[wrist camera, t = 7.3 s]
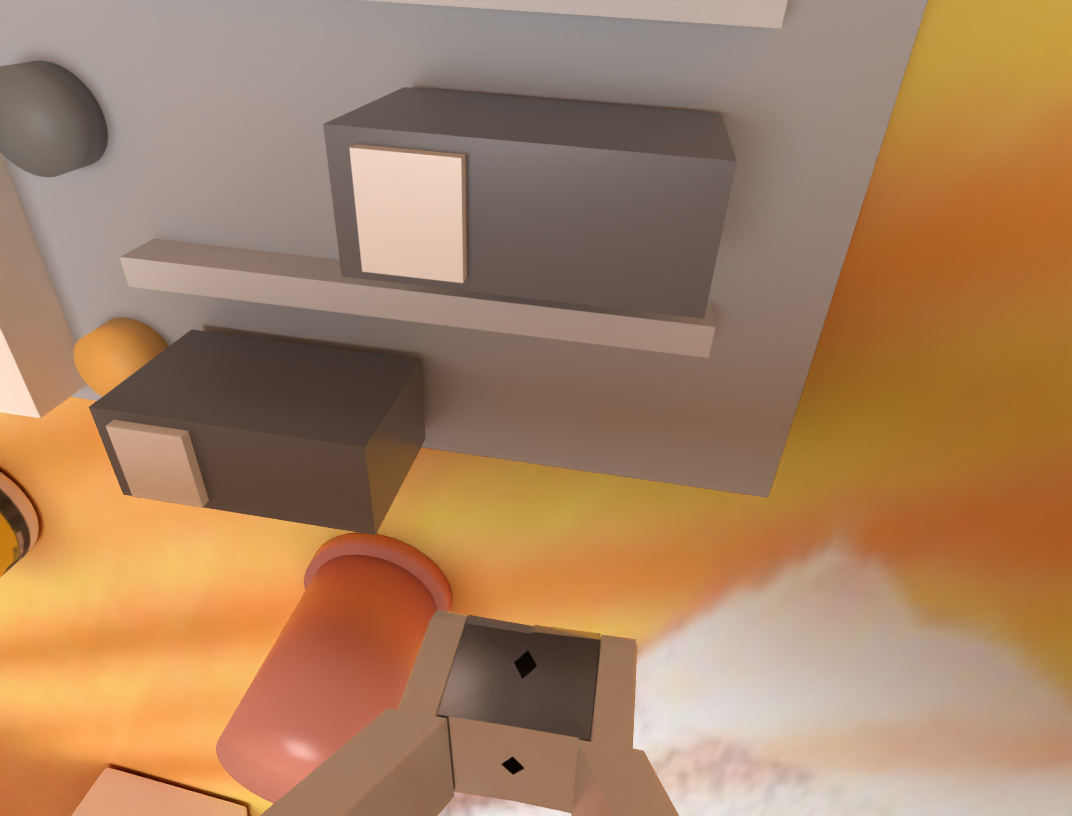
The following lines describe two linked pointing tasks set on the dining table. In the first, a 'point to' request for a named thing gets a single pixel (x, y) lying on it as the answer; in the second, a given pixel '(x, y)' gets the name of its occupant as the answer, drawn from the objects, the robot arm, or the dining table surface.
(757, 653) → the dining table surface
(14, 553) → the supplement bottle
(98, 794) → the milk carton
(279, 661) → the cap
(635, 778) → the robot arm
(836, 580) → the dining table surface
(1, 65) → the panel
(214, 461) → the block
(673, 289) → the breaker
